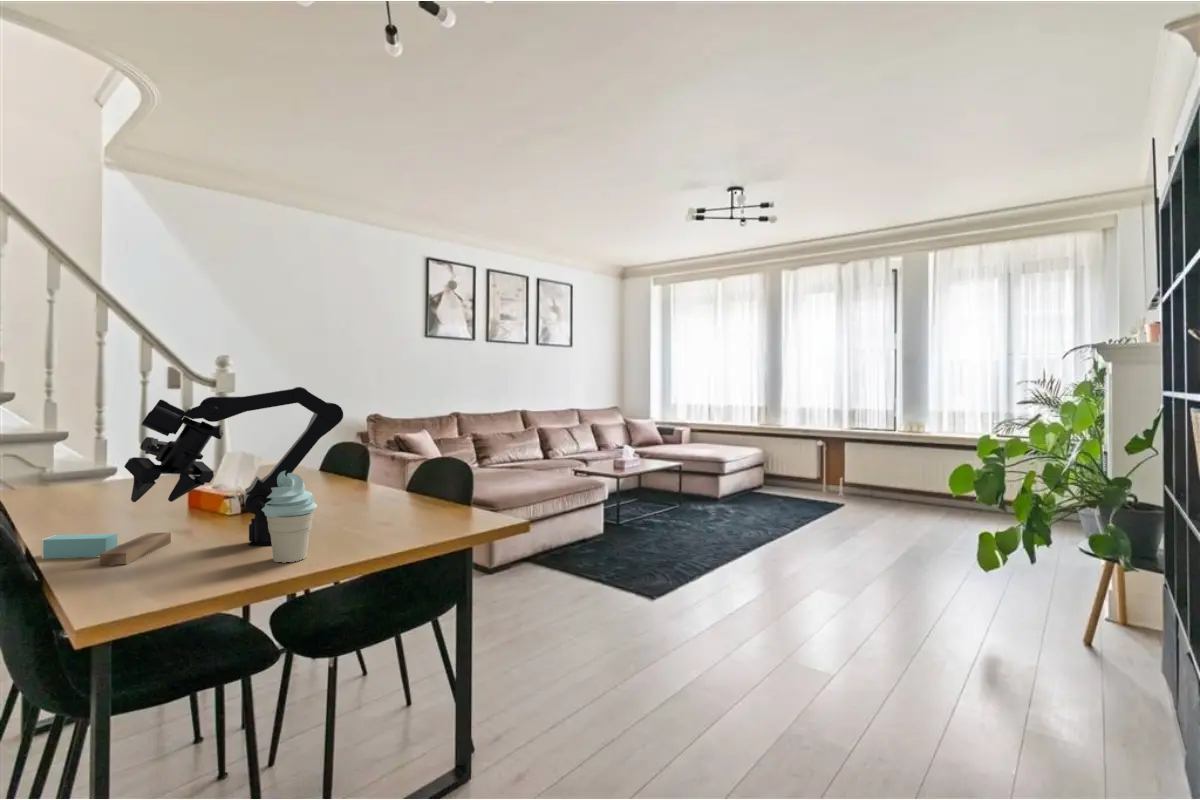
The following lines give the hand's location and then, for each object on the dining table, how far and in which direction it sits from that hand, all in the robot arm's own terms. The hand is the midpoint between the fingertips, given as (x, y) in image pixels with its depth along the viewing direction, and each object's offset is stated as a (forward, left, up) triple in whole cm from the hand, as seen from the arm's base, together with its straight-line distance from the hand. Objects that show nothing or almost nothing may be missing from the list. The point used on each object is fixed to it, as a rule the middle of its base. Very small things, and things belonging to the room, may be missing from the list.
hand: (151, 501), depth 140 cm
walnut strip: (+2, +2, -12) cm, 12 cm away
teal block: (+7, +2, -10) cm, 12 cm away
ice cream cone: (-33, +10, -12) cm, 37 cm away
